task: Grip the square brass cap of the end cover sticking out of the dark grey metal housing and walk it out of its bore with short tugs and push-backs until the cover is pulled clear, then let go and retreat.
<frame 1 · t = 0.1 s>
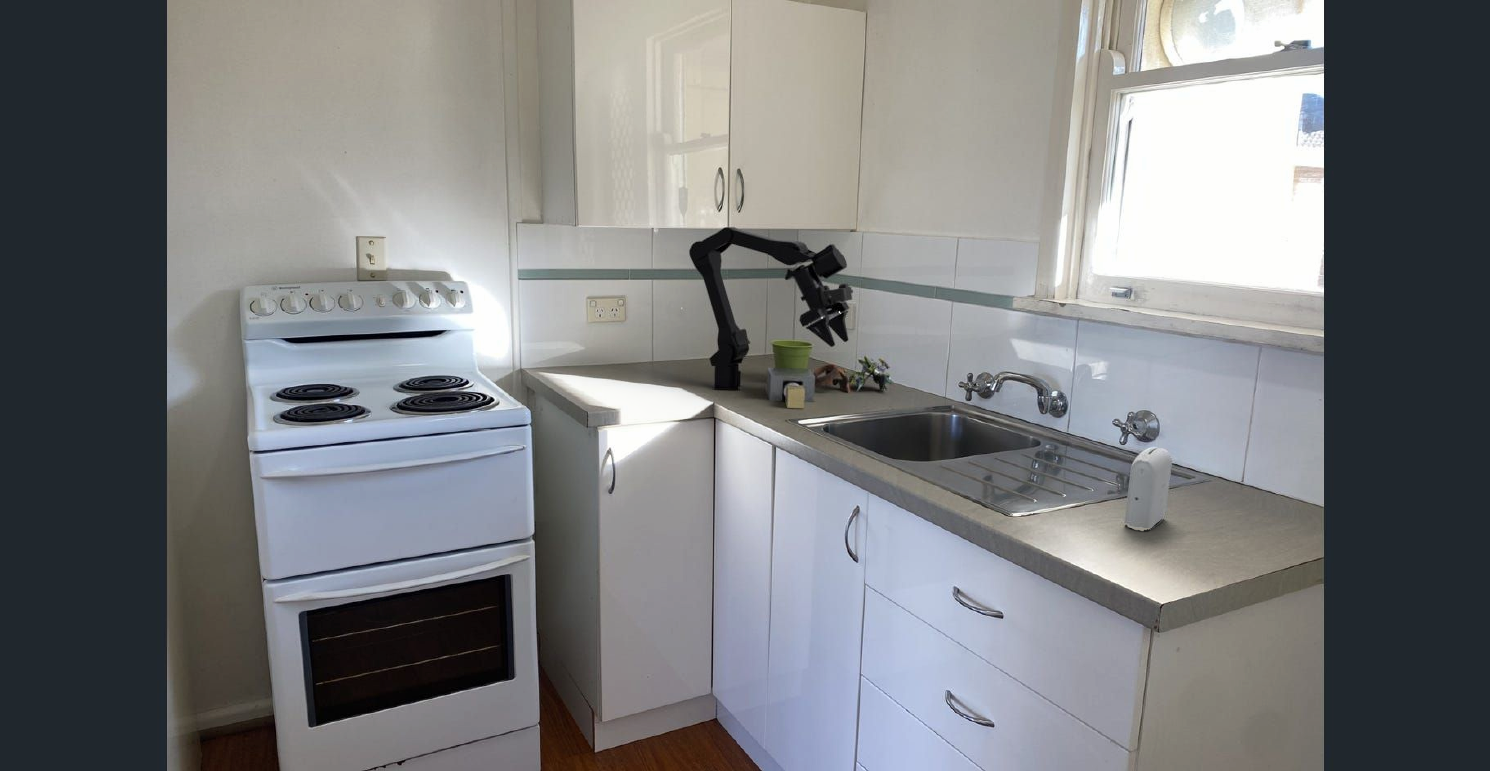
hand: (840, 343, 226), 15 cm above the countertop, tool tilted 30°, fingers open, 9 cm apart
end cover: (792, 391, 229), point 2 cm above the countertop, slide at 0.0 cm
brown lumpy piece: (831, 391, 244), on the countertop
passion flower: (867, 392, 245), on the countertop
housing: (791, 401, 229), on the countertop
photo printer: (1144, 524, 148), on the countertop
plant pot: (790, 384, 252), on the countertop
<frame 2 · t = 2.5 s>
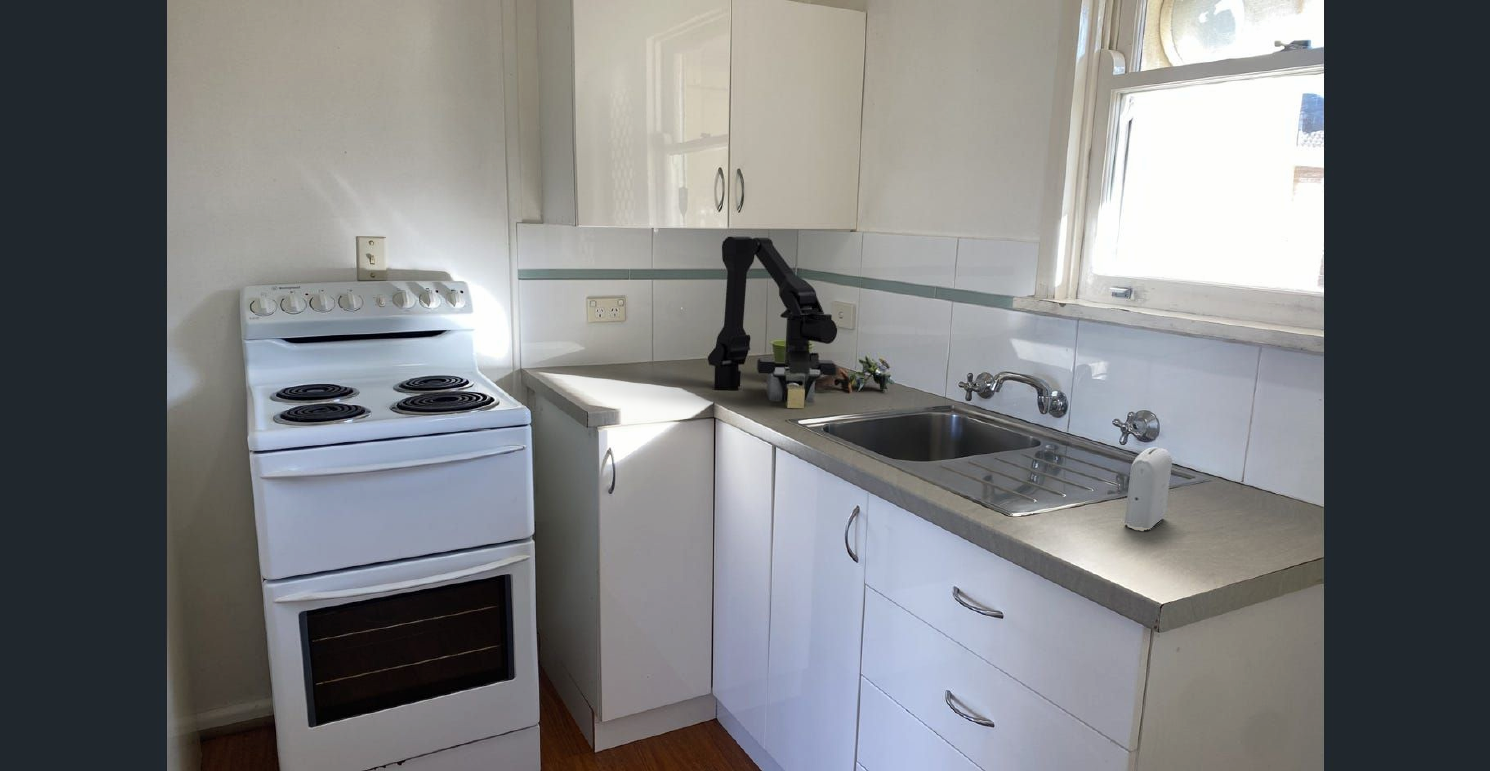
hand: (794, 401, 223), 1 cm above the countertop, tool pointing down, fingers closed on end cover, 4 cm apart
end cover: (792, 391, 229), point 2 cm above the countertop, slide at 0.0 cm, touching gripper
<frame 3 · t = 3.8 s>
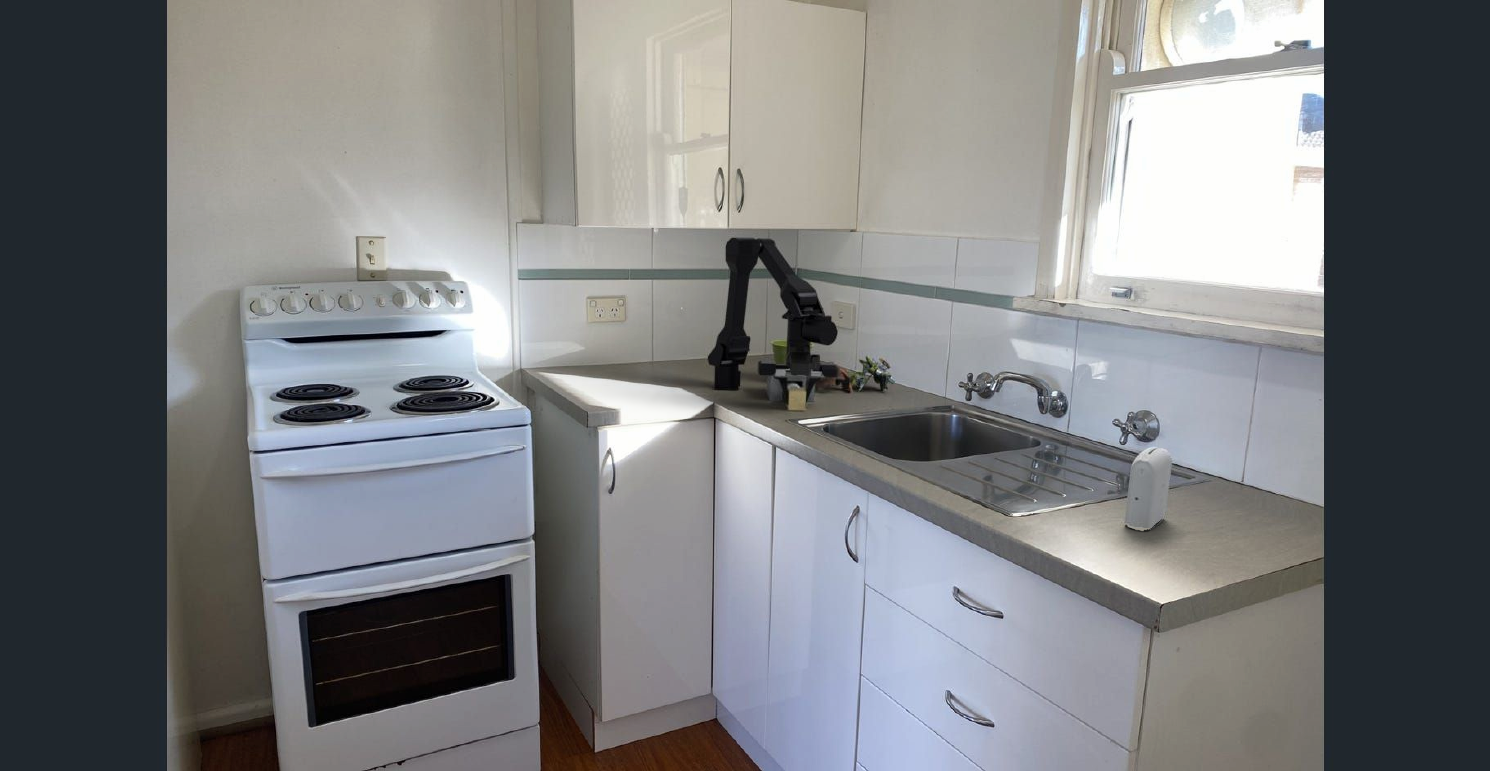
hand: (795, 403, 220), 1 cm above the countertop, tool pointing down, fingers closed on end cover, 4 cm apart
end cover: (793, 393, 226), point 2 cm above the countertop, slide at 2.5 cm, touching gripper
everything else where it was.
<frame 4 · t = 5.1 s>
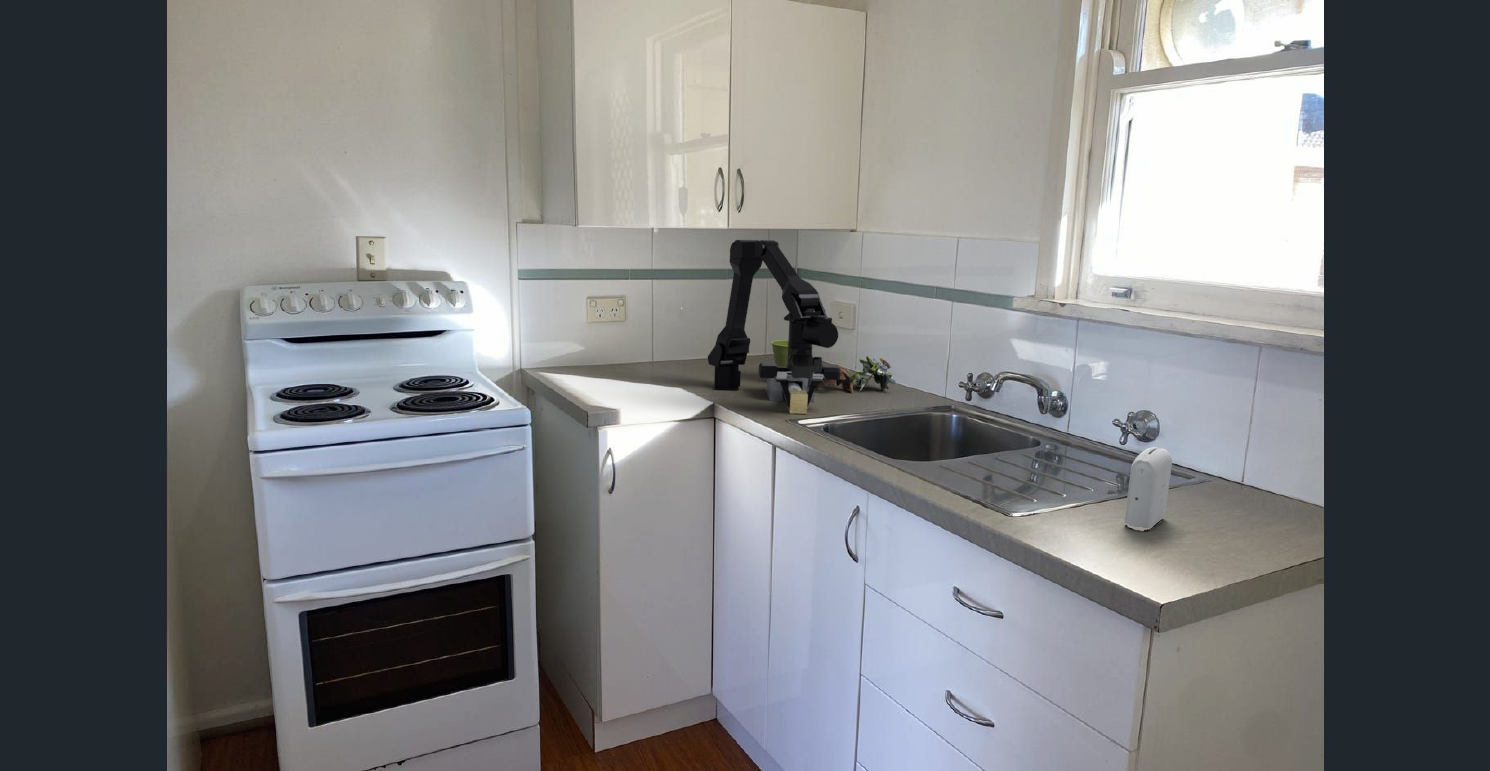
hand: (797, 406, 217), 1 cm above the countertop, tool pointing down, fingers closed on end cover, 4 cm apart
end cover: (794, 396, 223), point 2 cm above the countertop, slide at 5.7 cm, touching gripper
everything else where it was.
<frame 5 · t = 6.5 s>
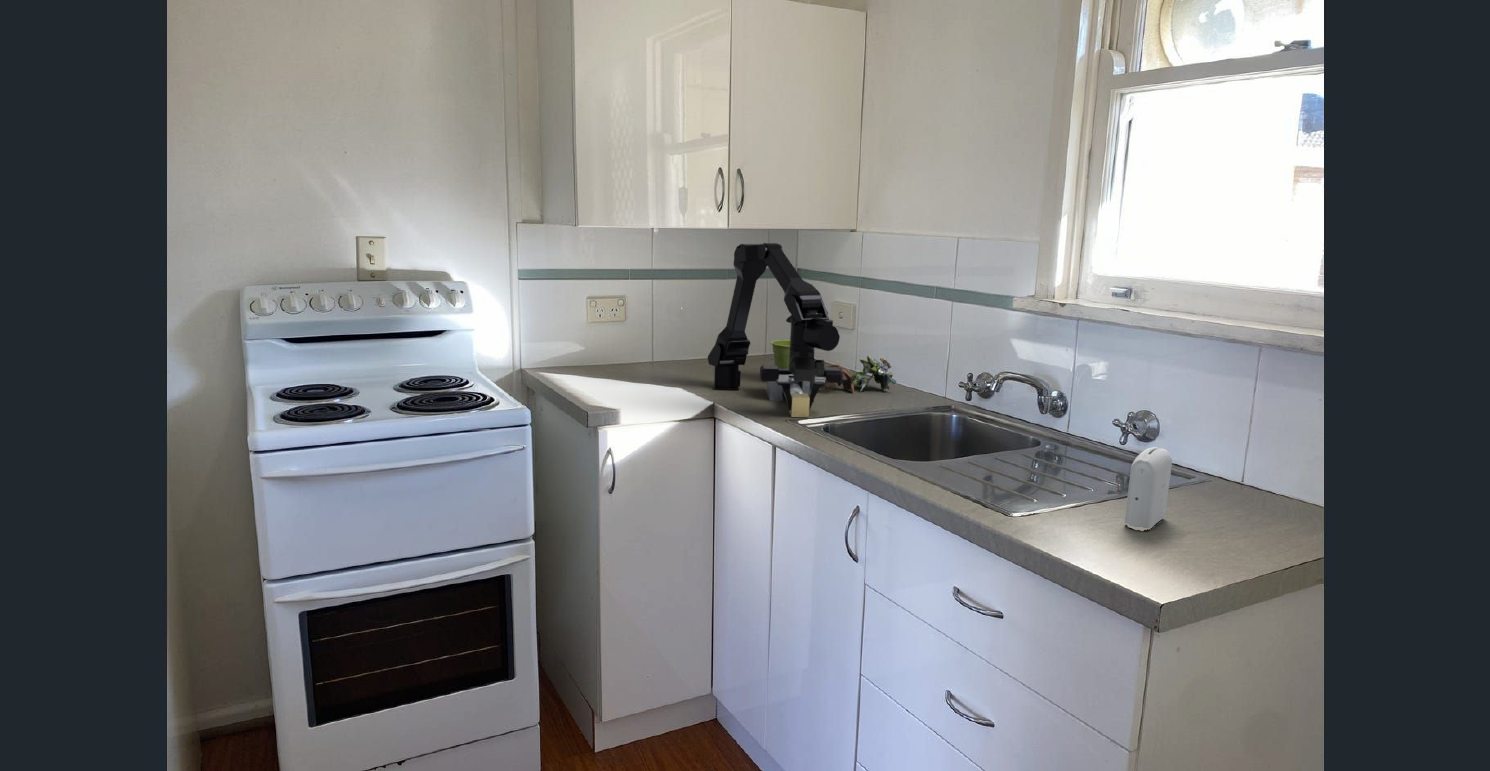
hand: (799, 410, 214), 1 cm above the countertop, tool pointing down, fingers closed on end cover, 4 cm apart
end cover: (796, 399, 219), point 2 cm above the countertop, slide at 9.3 cm, touching gripper
brown lumpy piece: (835, 392, 244), on the countertop, touching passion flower
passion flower: (870, 391, 245), on the countertop, touching brown lumpy piece
everything else where it was.
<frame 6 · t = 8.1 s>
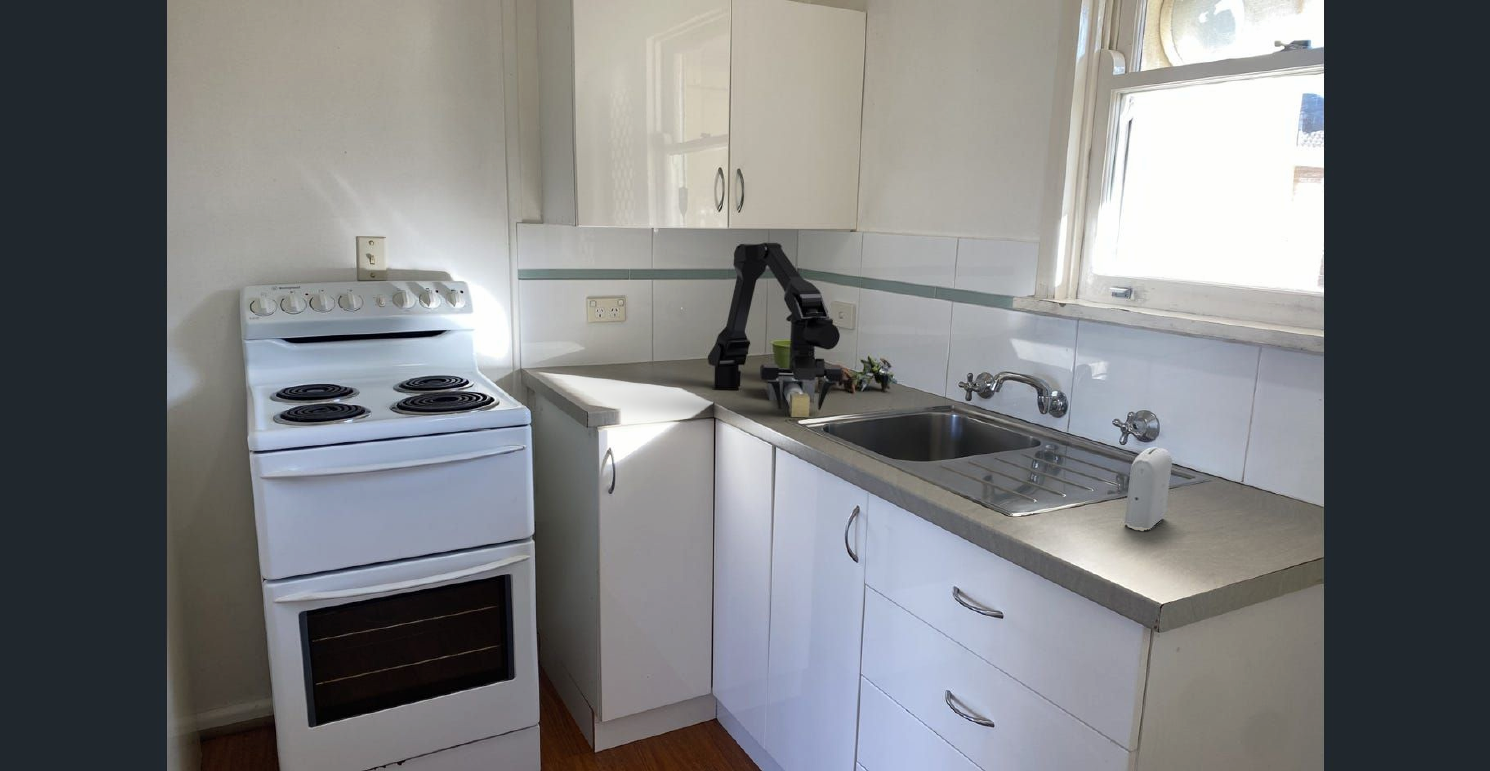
hand: (799, 409, 213), 2 cm above the countertop, tool pointing down, fingers open, 9 cm apart
end cover: (796, 399, 219), point 2 cm above the countertop, slide at 9.4 cm
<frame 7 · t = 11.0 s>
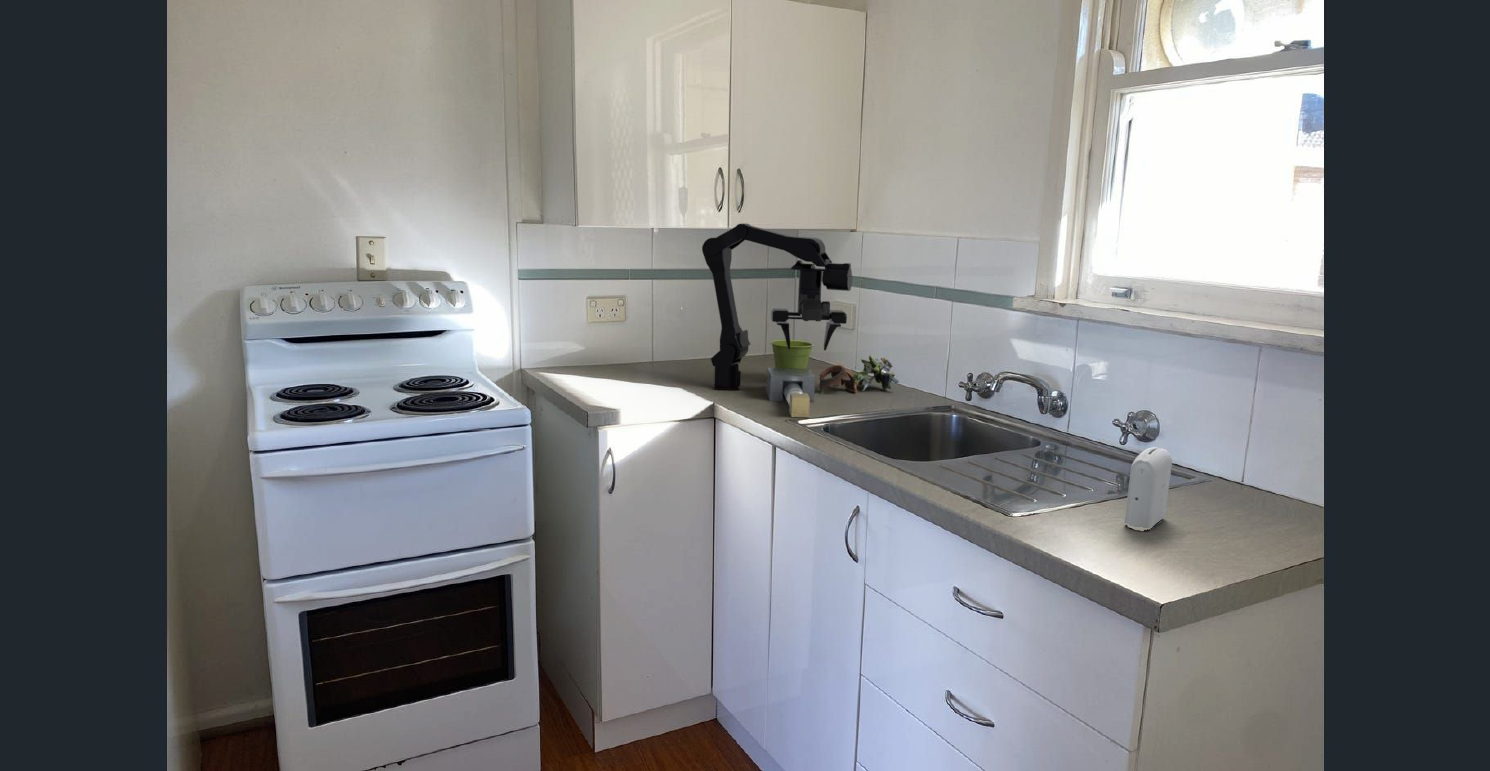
hand: (806, 349, 234), 12 cm above the countertop, tool pointing down, fingers open, 9 cm apart
brown lumpy piece: (837, 392, 243), on the countertop
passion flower: (871, 391, 246), on the countertop
everything else where it was.
at the end: end cover slide at 9.4 cm; the gripper is holding nothing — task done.
